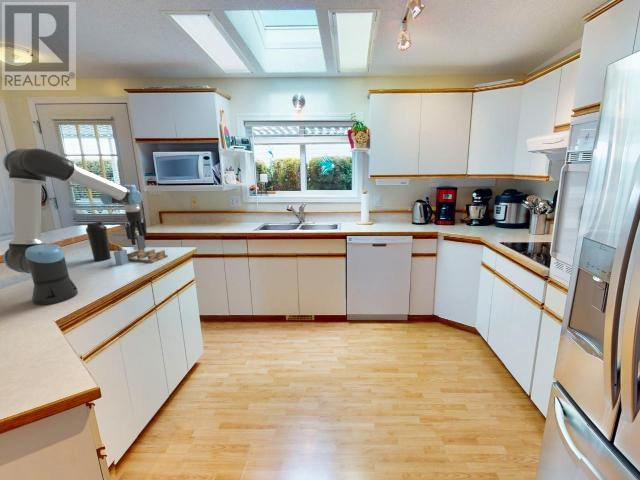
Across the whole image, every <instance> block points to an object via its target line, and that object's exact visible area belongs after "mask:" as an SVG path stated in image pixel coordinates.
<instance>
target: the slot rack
mask: <svg viewBox="0 0 640 480" xmlns="http://www.w3.org/2000/svg"><path fill="white" fill-rule="evenodd" d="M155 250H156V249H151V250H150V249H149V250H147V251H145V248H144V249H142V250H133V251H132V252H129V253H128V252H127V256H128V261H129V262H139V263H149V264H153V263H156V262H159V261H162V260H163V259H165V258H168V257H169V255H168V254H166V251H165V250H164V249H162V250H160V251H155Z"/></svg>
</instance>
